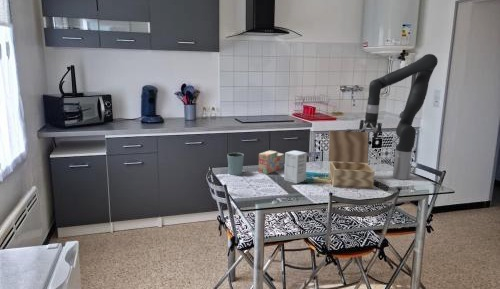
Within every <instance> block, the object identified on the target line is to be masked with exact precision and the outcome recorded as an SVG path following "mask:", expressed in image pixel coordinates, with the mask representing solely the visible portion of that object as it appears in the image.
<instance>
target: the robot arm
mask: <svg viewBox="0 0 500 289" xmlns="http://www.w3.org/2000/svg"><path fill="white" fill-rule="evenodd" d="M438 62H439V60H438V57H437V56H436V55H434V54H432V53H427V54H424V55H423V56H422V57H420V58H419V59H417V60H415V61H414V62H412V63H410V64H408V65H405V66H404V67H403V66H402V67H401V68H399V69H397V70H394V71H391V72H388V73H387V74H385V75H383V76H381V77H379V78H375V79H373V80H371V81H370V83H369V85H368V86H369V87H368V97H367V104H366V110H365V114H364V115H365V117H364V119H360V122H359V127H358V129H359V130H361V132H366V130H367V129H372V130H373V132H374V134H373V140H377V138H378V137H379V136H378V135H379V133H382V125H383V124H382V122H378V119H379V113H380V112H379V111H380V102H381V97H380V96H381V90H382V89H384V88H386V87H388V86H392V85H394V84H397V83H398V82H401V81H403V80H406V79H408V78H409V77H411V76H413V75H416V78H415V80H414V82H413V84H412V86H411V88H410V90H409V94H408V97H407V100H406V103H405V106H404V110H403V112H402V116H401V117H400V119H399V122H398V124H397V126H396V129H395V134H396V136H397V137H398V138H399V140H398V144H397V145H395V151H394V152H395V153H394V160H393V161H394V162H393V170H392V177H393V179H397V180H402V181H403V180H410V179H411V174H412V173H411V171H412V163H411V160H412V153H413V148H414V147H415V142H416V135H417V131H416V128H415V127H414V126H413V122H414V119H415V116H416V115H417V114H418V113H419V111H420V110H421V109H422V107H423V105H424V103H425V100H426V97H427V93H428V89H429V82H430V80H431V77H432V74H433V72H434V70H435V68H436V67H437V65H438Z"/></svg>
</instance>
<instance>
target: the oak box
mask: <svg viewBox="0 0 500 289" xmlns="http://www.w3.org/2000/svg"><path fill="white" fill-rule="evenodd" d="M328 170H329V171H328V179H329V178H330V179H329V181H330V180H331V181H330V183H331V182H332V183H331V185H333V186H332V187H333V188H347V189H348V188H349V189H366V190H367V189H369V190H372V189H374V183H375V182H374V181H375V170H374V169H373V167H371V166H370V165H369V163H357V162H334V161H329V168H328Z"/></svg>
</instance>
